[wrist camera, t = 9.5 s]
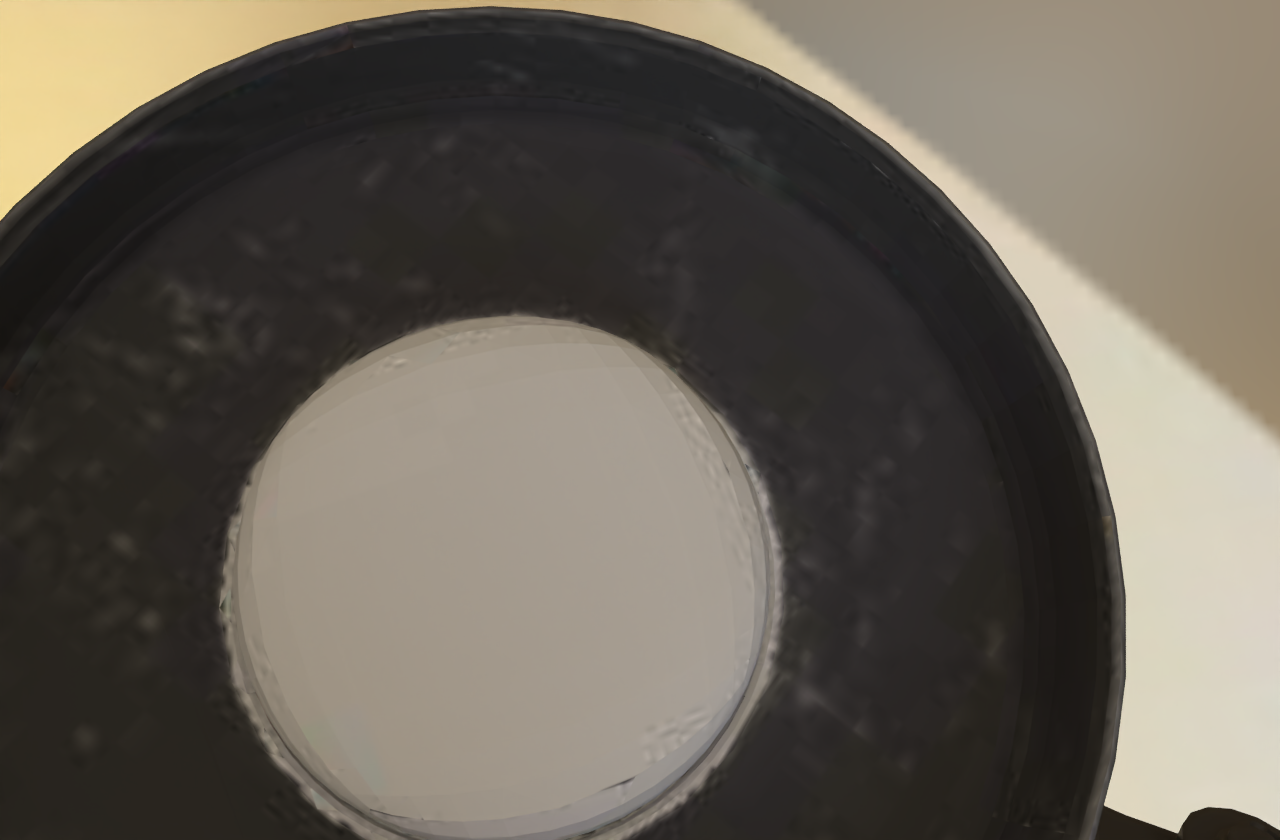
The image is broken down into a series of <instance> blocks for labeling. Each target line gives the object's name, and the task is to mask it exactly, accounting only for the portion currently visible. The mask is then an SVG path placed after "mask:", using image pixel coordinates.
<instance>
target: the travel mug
mask: <svg viewBox="0 0 1280 840" xmlns="http://www.w3.org/2000/svg"><path fill="white" fill-rule="evenodd" d="M1125 679H1126V595H1125V587H1124V579H1123V572H1122V564H1121V556H1120V548H1119V541H1118V533H1117V525H1116V517H1115V513H1114V509H1113V505H1112V501H1111V497H1110V494H1109V490H1108V486H1107V482H1106V478H1105V474H1104V470H1103V467H1102V463H1101V459H1100V455H1099V451H1098V447H1097V444H1096V440H1095V438H1094V435H1093V432H1092V430H1091V427H1090V425H1089V422H1088V420H1087V417H1086V415H1085V412H1084V410H1083V407H1082V405H1081V402H1080V400H1079V397H1078V394H1077V392H1076V389H1075V387H1074V384H1073V382H1072V379H1071V377H1070V374H1069V372H1068V369H1067V368H1066V366H1065V364H1064V362H1063V360H1062V358H1061V356H1060V355H1059V353H1058V351H1057V349H1056V347H1055V345H1054V343H1053V342H1052V340H1051V338H1050V336H1049V334H1048V332H1047V331H1046V329H1045V327H1044V325H1043V323H1042V321H1041V319H1040V318H1039V316H1038V314H1037V312H1036V310H1035V308H1034V306H1033V305H1032V303H1031V302H1030V300H1029V299H1028V297H1027V296H1026V295H1025V293H1024V292H1023V290H1022V289H1021V287H1020V286H1019V285H1018V283H1017V282H1016V280H1015V279H1014V278H1013V276H1012V275H1011V273H1010V272H1009V270H1008V269H1007V268H1006V266H1005V265H1004V263H1003V262H1002V261H1001V259H1000V258H999V256H998V255H997V253H996V252H995V251H994V249H993V248H992V246H991V245H990V244H989V242H988V241H987V240H986V239H985V238H984V237H983V236H982V235H981V234H980V232H979V231H978V230H977V229H976V228H975V227H974V226H973V225H972V224H971V222H970V221H969V220H968V219H967V218H966V217H965V216H964V215H963V214H962V212H961V211H960V210H959V209H958V208H957V207H956V206H955V205H954V204H953V202H952V201H951V200H950V199H949V198H948V197H947V196H946V195H945V194H944V192H943V191H942V190H941V189H940V188H938V187H937V186H936V185H935V184H934V183H933V182H932V181H931V180H929V179H928V178H927V177H926V176H925V175H924V174H923V173H921V172H920V171H919V170H918V169H917V168H916V167H915V166H914V165H912V164H911V163H910V162H909V161H908V160H907V159H906V158H904V157H903V156H902V155H901V154H900V153H899V152H898V151H897V150H895V149H894V148H893V147H892V146H891V145H890V144H889V143H887V142H886V141H885V140H883V139H882V138H880V137H879V136H877V135H876V134H875V133H873V132H872V131H870V130H869V129H867V128H866V127H865V126H863V125H862V124H860V123H859V122H857V121H856V120H855V119H853V118H852V117H850V116H849V115H847V114H846V113H845V112H843V111H842V110H840V109H839V108H837V107H836V106H835V105H833V104H832V103H830V102H829V101H827V100H825V99H823V98H821V97H820V96H818V95H816V94H814V93H812V92H810V91H809V90H807V89H805V88H803V87H801V86H799V85H797V84H796V83H794V82H792V81H790V80H788V79H786V78H785V77H783V76H781V75H779V74H777V73H775V72H774V71H772V70H770V69H768V68H766V67H764V66H761V65H759V64H756V63H754V62H751V61H749V60H746V59H744V58H741V57H739V56H736V55H734V54H731V53H729V52H726V51H724V50H722V49H719V48H717V47H714V46H712V45H709V44H707V43H704V42H702V41H699V40H695V39H691V38H688V37H684V36H681V35H677V34H674V33H670V32H666V31H663V30H659V29H656V28H652V27H649V26H645V25H642V24H638V23H634V22H630V21H624V20H618V19H612V18H606V17H600V16H594V15H588V14H582V13H576V12H570V11H563V10H548V9H530V8H512V7H494V6H487V7H469V8H452V9H434V10H417V11H411V12H405V13H399V14H393V15H388V16H382V17H376V18H370V19H364V20H358V21H352V22H346V23H342V24H339V25H335V26H332V27H328V28H324V29H321V30H317V31H314V32H310V33H307V34H303V35H300V36H296V37H293V38H289V39H285V40H282V41H278V42H275V43H272V44H270V45H267V46H265V47H262V48H260V49H257V50H255V51H253V52H250V53H248V54H245V55H243V56H240V57H238V58H235V59H233V60H230V61H228V62H225V63H223V64H221V65H218V66H216V67H213V68H211V69H208V70H206V71H204V72H202V73H200V74H198V75H196V76H194V77H193V78H191V79H189V80H187V81H185V82H183V83H182V84H180V85H178V86H176V87H174V88H172V89H171V90H169V91H167V92H165V93H163V94H162V95H160V96H158V97H156V98H154V99H152V100H151V101H149V102H147V103H145V104H143V105H141V106H140V107H138V108H136V109H135V110H133V111H132V112H131V113H129V114H128V115H126V116H125V117H123V118H122V119H121V120H119V121H118V122H116V123H115V124H113V125H112V126H111V127H109V128H108V129H106V130H105V131H104V132H102V133H101V134H99V135H98V136H96V137H95V138H94V139H92V140H91V141H89V142H88V143H87V144H85V145H84V146H82V147H81V148H79V149H78V150H77V151H75V152H74V153H73V154H71V155H70V156H69V157H68V158H67V159H66V160H65V161H64V162H62V163H61V164H60V165H59V166H58V167H57V168H56V169H55V170H54V171H52V172H51V173H50V174H49V175H48V176H47V177H46V178H45V179H43V180H42V181H41V182H40V183H39V184H38V185H37V186H36V187H34V188H33V189H32V190H31V191H30V192H29V193H28V194H27V195H26V196H24V197H23V198H22V199H21V200H20V201H19V202H18V203H17V204H15V205H14V206H13V208H12V209H11V210H10V211H9V212H8V213H7V214H6V215H5V217H4V218H3V219H2V220H1V221H0V840H1095V836H1096V833H1097V829H1098V825H1099V821H1100V817H1101V813H1102V809H1103V806H1104V802H1105V798H1106V794H1107V790H1108V786H1109V783H1110V779H1111V775H1112V771H1113V767H1114V763H1115V759H1116V751H1117V743H1118V735H1119V727H1120V719H1121V711H1122V703H1123V695H1124V687H1125Z"/></svg>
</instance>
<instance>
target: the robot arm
mask: <svg viewBox="0 0 1280 840" xmlns="http://www.w3.org/2000/svg"><path fill="white" fill-rule="evenodd" d="M1095 840H1280V830H1278V829H1276V828H1274V827H1273V826H1271V825H1269V824H1267V823H1266V822H1264V821H1262V820H1261V819H1259V818H1257V817H1254V816H1251V815H1248V814H1245V813H1242V812H1239V811H1236V810H1233V809H1225V808H1212V807H1207V808H1204V809H1201V810H1198V811H1195V812H1192V813H1190V815H1189V816H1188V818H1187V819H1186V820H1185V822H1184V823H1183V825H1182V827H1181V829H1180V831H1179V833H1178V834H1177V833H1174V832H1172V831H1169V830H1166V829H1163V828H1160V827H1157V826H1155V825H1152V824H1149V823H1146V822H1143V821H1140V820H1138V819H1135V818H1132V817H1129V816H1126V815H1124V814H1122V813H1119V812H1117V811H1115V810H1112V809H1110V808H1108V807H1106V806H1103V809H1102V813H1101V817H1100V821H1099V825H1098V829H1097V833H1096V836H1095Z"/></svg>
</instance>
